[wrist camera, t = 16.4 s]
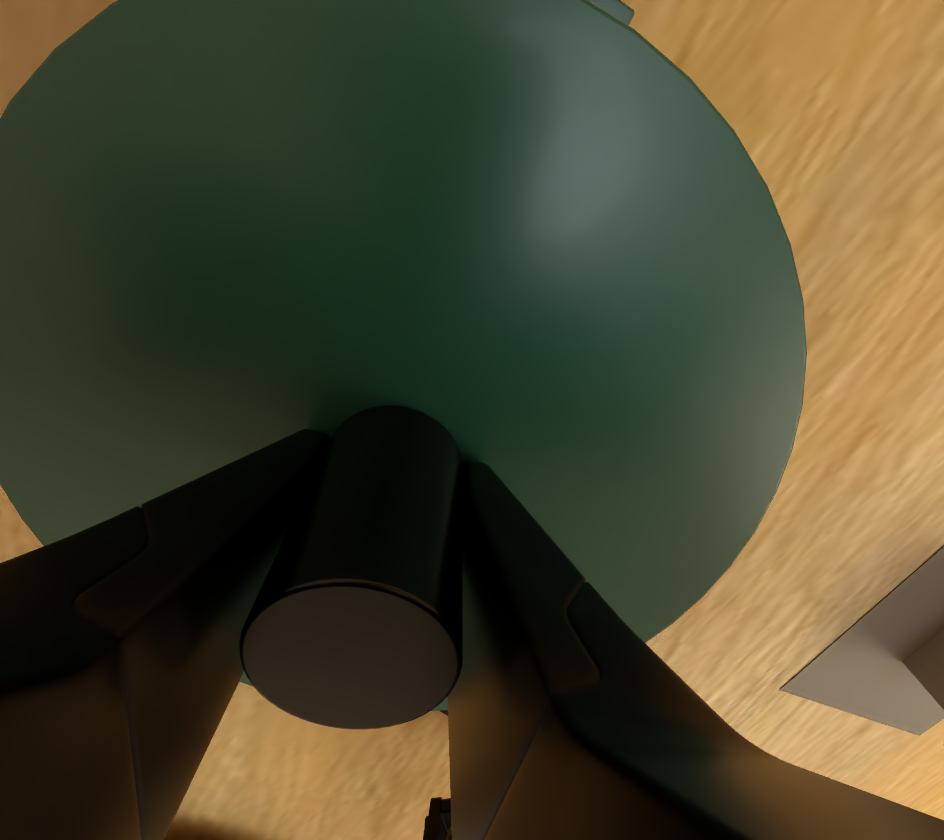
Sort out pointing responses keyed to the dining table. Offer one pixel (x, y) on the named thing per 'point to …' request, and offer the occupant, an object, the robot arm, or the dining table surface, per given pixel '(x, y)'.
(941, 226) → the dining table surface
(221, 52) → the lid
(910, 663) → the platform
